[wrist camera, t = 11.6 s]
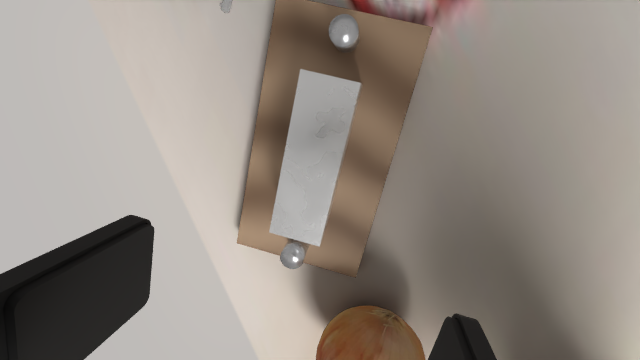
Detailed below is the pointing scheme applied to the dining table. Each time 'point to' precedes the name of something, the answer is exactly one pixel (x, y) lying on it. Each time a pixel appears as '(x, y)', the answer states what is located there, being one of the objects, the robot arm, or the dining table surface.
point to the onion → (369, 337)
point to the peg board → (367, 130)
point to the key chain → (226, 6)
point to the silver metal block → (314, 155)
